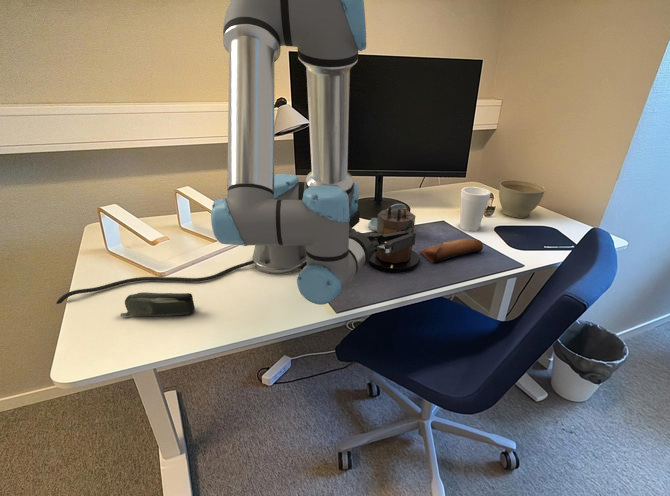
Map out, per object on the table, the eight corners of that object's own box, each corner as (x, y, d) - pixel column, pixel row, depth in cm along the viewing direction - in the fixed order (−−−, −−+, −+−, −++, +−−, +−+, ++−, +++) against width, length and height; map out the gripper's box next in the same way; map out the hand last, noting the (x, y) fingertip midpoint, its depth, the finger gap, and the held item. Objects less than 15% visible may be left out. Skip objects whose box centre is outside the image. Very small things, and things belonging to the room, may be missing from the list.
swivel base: (380, 277, 105) (380, 271, 105) (358, 253, 117) (359, 248, 116) (428, 268, 111) (429, 263, 110) (403, 246, 122) (403, 242, 121)
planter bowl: (538, 224, 143) (546, 194, 137) (492, 217, 147) (499, 188, 141) (536, 210, 156) (544, 182, 150) (494, 204, 160) (500, 177, 154)
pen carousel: (383, 245, 118) (386, 198, 110) (413, 251, 115) (419, 203, 108) (371, 259, 110) (374, 208, 103) (404, 265, 108) (409, 214, 100)
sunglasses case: (463, 241, 126) (474, 228, 121) (474, 258, 124) (486, 246, 118) (418, 251, 119) (427, 238, 113) (429, 270, 116) (439, 258, 111)
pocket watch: (384, 206, 121) (360, 192, 132) (382, 239, 127) (359, 223, 138) (411, 201, 125) (386, 188, 136) (407, 233, 131) (384, 218, 142)
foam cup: (488, 231, 136) (496, 194, 129) (465, 234, 133) (472, 196, 126) (472, 221, 143) (479, 185, 136) (450, 224, 140) (456, 187, 133)
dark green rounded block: (192, 290, 87) (118, 291, 85) (189, 297, 85) (113, 299, 82) (196, 309, 90) (124, 311, 87) (193, 316, 87) (119, 319, 85)
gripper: (296, 259, 85) (337, 226, 102) (406, 283, 78) (431, 244, 95) (294, 226, 81) (337, 198, 98) (410, 248, 74) (435, 214, 91)
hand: (384, 220), depth 97 cm, fingers open, 13 cm apart
